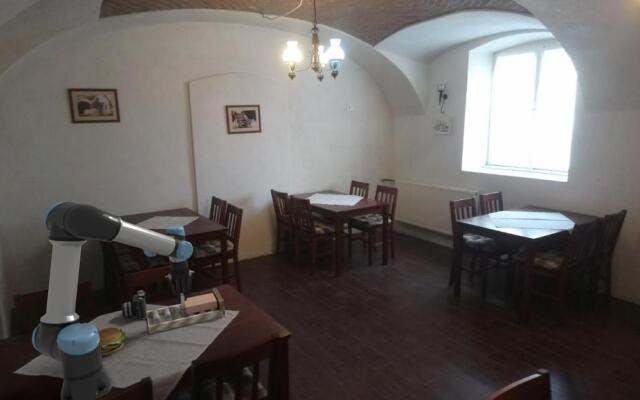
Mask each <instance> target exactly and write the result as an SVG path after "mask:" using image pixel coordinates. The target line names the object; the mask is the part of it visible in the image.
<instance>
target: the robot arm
mask: <svg viewBox="0 0 640 400" xmlns="http://www.w3.org/2000/svg"><path fill="white" fill-rule="evenodd" d="M43 223H44V226H45V228H46V229H47V230H48V241H49V243H50V244H51V245H52V251H51V252H52V253H51V262H50V273H49V281H48V282H49V283H48V293H47V301H46V313H45V314H44V315H42V316H41V317H40V321H39V324H38V326H37V327H35V328H34V330H33V332H32V335H31V336H32V337H31V343H32V345H33V348H35V350H37V351H38V353H40V354H42V356H45V357H49V358H51V359H53V360H55V361H56V362H58V363H60V364H61V370H62V374H63V375H62V376H63V381H62V385H61V386H62V387H61V392H60V400H95V399H97V398H99V397H102V396H104V395H106V396H107V395H108V394H109V393H110V392H111V391H112V387H113V384H112V383H113V382H112V377H110V375H109V373H108V371H107V370H106V368H105V367H104V362H103V357H102V355H101V348H100V338H99V334H98V331H99V330H98V329H97V327H96V326H95V325H93V324H91V323H88V322H87V323H86V322H83V323H81V322H80V321H79V320H80V315H78V313H76V302H77V295H78V294H77V292H78V285H79V283H78V281H79V273H80V272H79V271H80V262H81V254H82V253H81V251H82V246H83V245H84V244H85V243H86V242H87V241H88V240H96V241H102V242H106V243H111V242H113V241H114V242H118V243H121V244H124V245H127V246H132V247H135V248H139V249H142V251H143V253H144V255H145V256H146V257H150V258H151V257H156V256H164V257H168V259H169V265H170V270H169V274H168V275H165V276H164V277H165V280H166V281H167V282H168V284H169V286H170V289H171V292H172V294H173V296H175V297H176V296H177V302H178V303H180V304H181V308H182V309H185V301H187V298H188V297H187V294H190V293H191V290H192V283H193V278H194V276H195V271H193V270H190V268H189V265H188V263H189V262H188V259H190V257H192V255H193V252H194V248H193V245H192V243H191V242H189V241H186V233H185V228H184V227H183V225H171V226H169V227H167V228H166V233H164V234H162V233H160V232H156V231H155V230H150V229H148V228H144V227H142V226H139V225H136V224H133V223H131V222H127V221H125V220H122V218H121V217H120V216H118V215H115V214H112V213H111V212H109V211H106V210H103V209H102V208H98V207H96V206H94V205H91V204H86V203H79V202H74V201H73V202H72V201H59V202H57V203H54V204H52V205H51V206H50V207H49V208H48V209H47V210H46V212H45V213H44V217H43ZM187 276H188V281H187V285H186V278H187ZM172 278H173V279H174V280H175V283H176V288H175V286H174V285H173V282H172ZM180 280H181V284H180ZM180 285H181V286H182V293H181V286H180Z"/></svg>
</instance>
